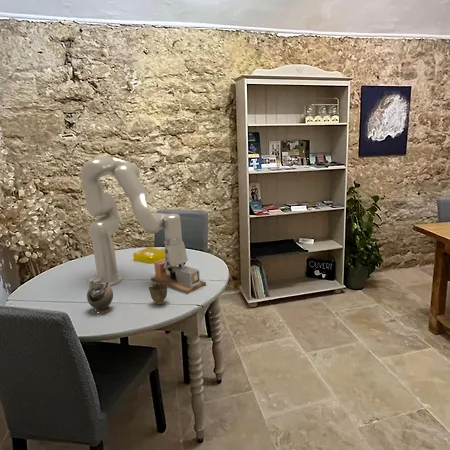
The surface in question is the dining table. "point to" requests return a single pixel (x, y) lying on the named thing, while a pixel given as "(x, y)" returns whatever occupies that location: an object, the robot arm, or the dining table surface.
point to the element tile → (149, 255)
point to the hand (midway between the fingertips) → (177, 277)
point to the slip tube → (193, 276)
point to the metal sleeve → (187, 276)
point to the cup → (158, 292)
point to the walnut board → (176, 284)
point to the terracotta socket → (160, 268)
